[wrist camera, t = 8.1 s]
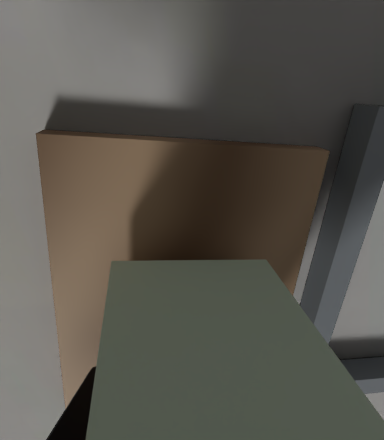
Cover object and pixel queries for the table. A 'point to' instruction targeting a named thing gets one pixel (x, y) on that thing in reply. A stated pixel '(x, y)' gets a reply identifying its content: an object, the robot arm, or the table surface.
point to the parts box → (217, 359)
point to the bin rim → (348, 234)
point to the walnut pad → (163, 216)
